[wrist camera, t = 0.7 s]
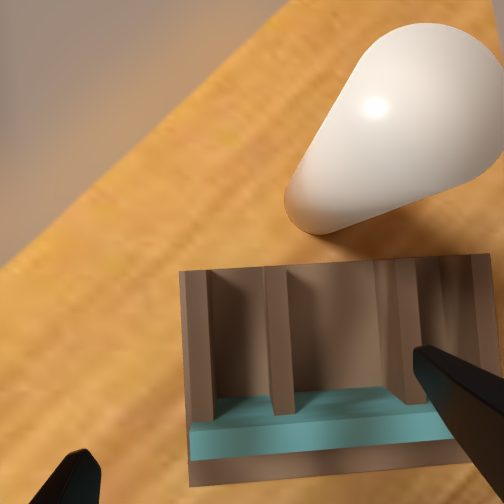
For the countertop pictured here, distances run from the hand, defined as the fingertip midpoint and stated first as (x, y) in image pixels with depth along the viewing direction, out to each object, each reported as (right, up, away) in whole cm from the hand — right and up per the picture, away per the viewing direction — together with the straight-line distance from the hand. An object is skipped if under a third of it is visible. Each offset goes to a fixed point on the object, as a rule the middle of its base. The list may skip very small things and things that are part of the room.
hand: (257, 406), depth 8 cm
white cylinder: (+5, +8, +14) cm, 17 cm away
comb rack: (+5, -4, +13) cm, 15 cm away
